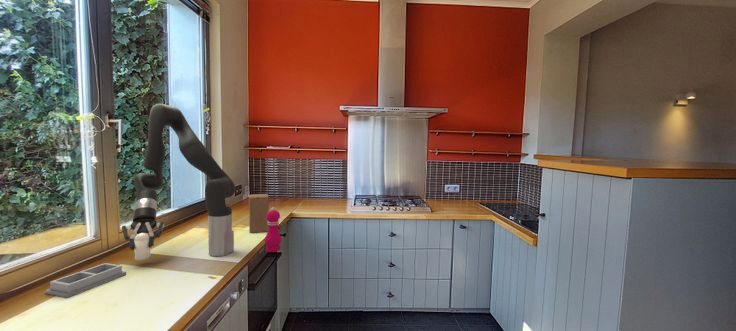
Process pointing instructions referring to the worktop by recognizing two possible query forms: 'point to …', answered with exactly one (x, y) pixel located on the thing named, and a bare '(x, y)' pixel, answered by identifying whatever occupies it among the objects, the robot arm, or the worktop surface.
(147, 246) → the cream capsule shape
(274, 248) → the pepper mill
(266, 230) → the wooden block
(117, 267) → the grey divided tray
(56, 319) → the worktop surface
